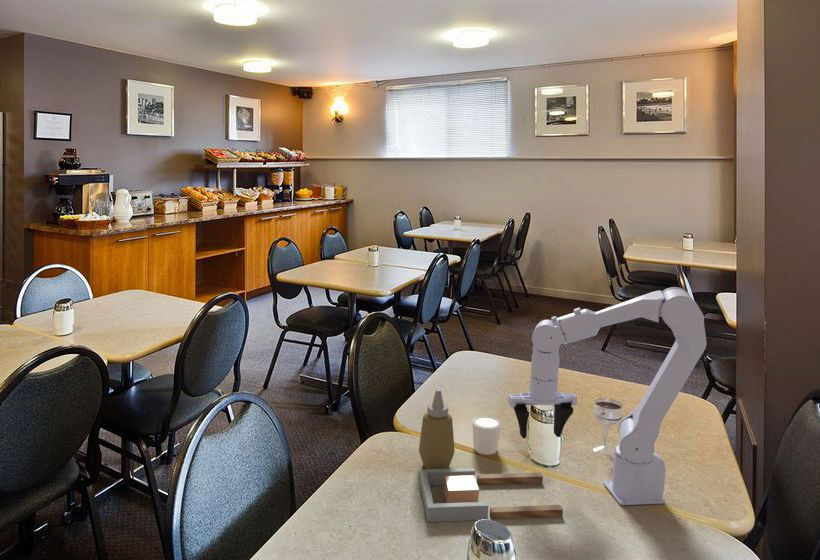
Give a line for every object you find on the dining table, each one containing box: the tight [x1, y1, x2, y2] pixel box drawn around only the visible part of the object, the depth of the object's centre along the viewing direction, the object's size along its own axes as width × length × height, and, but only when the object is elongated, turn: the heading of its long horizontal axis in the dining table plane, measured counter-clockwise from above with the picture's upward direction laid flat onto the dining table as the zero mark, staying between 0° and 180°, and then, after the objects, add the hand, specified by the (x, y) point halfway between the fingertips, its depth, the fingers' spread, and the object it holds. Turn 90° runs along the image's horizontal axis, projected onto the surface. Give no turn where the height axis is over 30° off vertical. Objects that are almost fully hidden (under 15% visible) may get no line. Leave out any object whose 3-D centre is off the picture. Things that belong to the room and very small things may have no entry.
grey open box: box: [419, 467, 489, 523], centre depth 105 cm, size 12×13×3 cm
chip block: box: [443, 475, 480, 503], centre depth 105 cm, size 6×5×4 cm
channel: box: [476, 472, 564, 520], centre depth 106 cm, size 14×13×2 cm
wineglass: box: [592, 397, 624, 456], centre depth 125 cm, size 7×7×12 cm
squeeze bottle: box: [418, 389, 455, 469], centre depth 116 cm, size 8×8×18 cm
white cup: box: [471, 415, 502, 456], centre depth 125 cm, size 7×7×7 cm
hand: (540, 435), depth 113 cm, fingers open, 7 cm apart
